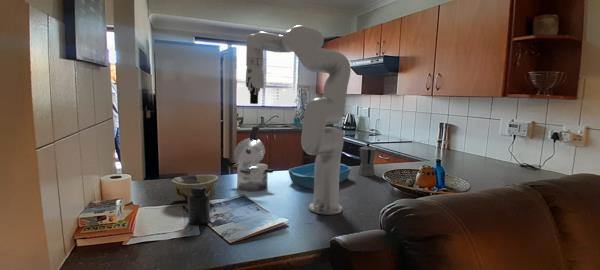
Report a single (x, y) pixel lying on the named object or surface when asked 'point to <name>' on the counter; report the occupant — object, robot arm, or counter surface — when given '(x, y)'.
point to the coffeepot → (367, 161)
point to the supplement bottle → (198, 206)
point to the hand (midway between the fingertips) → (254, 103)
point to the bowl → (194, 184)
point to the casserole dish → (312, 174)
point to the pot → (252, 177)
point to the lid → (249, 150)
